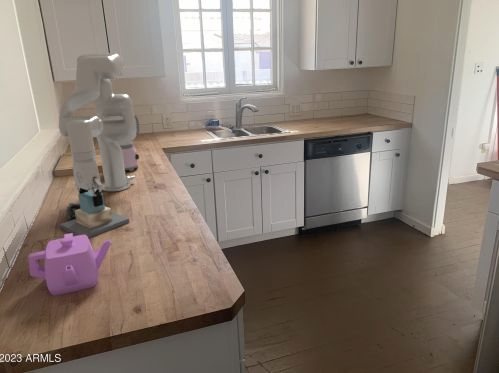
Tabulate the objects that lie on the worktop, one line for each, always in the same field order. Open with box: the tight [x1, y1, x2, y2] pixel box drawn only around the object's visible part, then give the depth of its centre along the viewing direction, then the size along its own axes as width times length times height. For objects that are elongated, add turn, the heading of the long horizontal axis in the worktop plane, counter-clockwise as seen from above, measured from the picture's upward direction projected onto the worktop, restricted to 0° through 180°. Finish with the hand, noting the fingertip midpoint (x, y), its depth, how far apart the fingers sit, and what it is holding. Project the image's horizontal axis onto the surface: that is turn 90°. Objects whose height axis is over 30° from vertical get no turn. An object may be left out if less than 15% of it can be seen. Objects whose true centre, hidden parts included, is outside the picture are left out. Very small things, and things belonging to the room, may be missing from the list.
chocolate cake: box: [65, 202, 81, 221], centre depth 150 cm, size 10×7×12 cm
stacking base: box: [59, 205, 130, 239], centre depth 142 cm, size 18×16×6 cm
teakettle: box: [27, 232, 112, 297], centre depth 106 cm, size 17×17×12 cm
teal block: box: [77, 189, 106, 214], centre depth 141 cm, size 6×6×6 cm
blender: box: [108, 114, 140, 173], centre depth 208 cm, size 16×12×32 cm
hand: (91, 202), depth 141 cm, fingers open, 8 cm apart
